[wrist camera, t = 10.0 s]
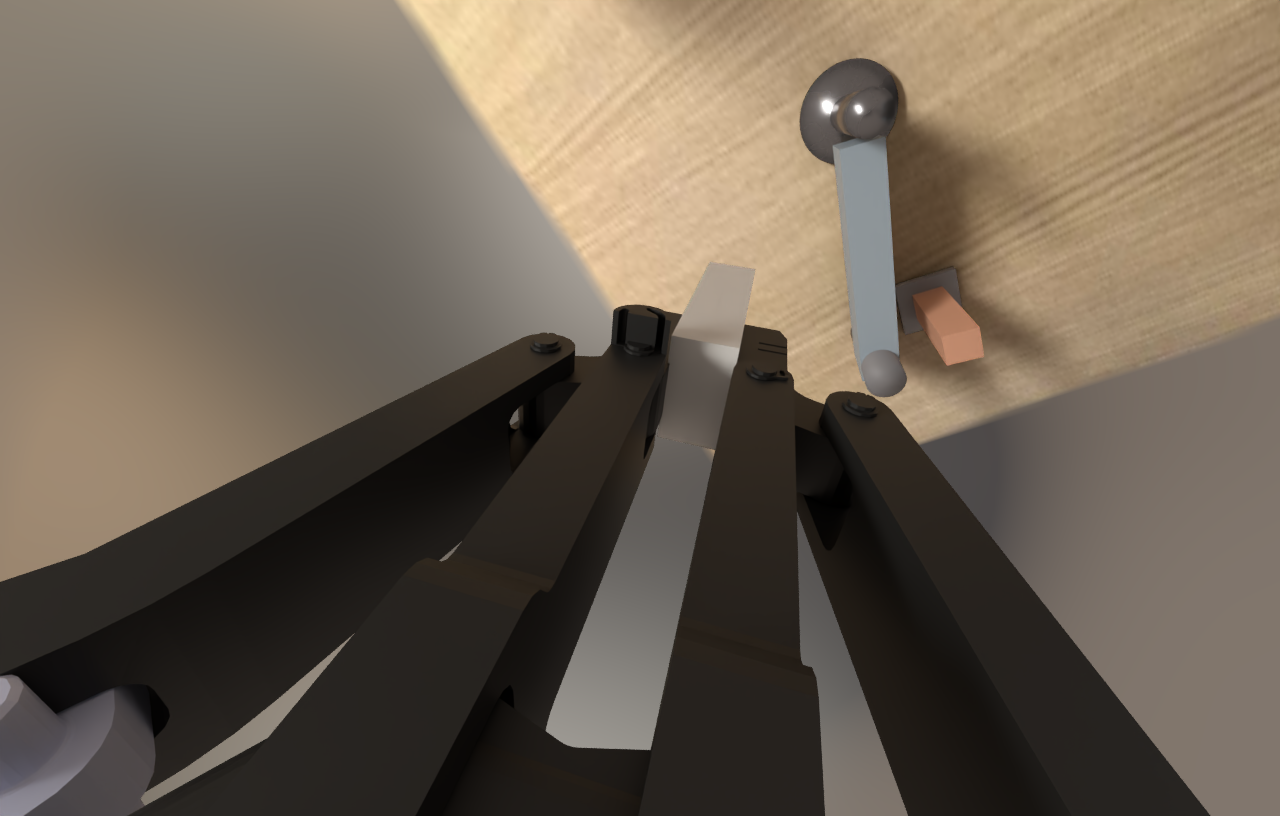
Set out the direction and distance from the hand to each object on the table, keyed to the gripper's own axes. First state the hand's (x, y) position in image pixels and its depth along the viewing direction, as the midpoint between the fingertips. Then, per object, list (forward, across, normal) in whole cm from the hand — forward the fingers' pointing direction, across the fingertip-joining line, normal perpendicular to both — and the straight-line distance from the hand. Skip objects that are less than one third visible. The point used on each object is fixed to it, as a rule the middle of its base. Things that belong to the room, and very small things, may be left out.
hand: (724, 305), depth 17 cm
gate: (+24, +8, -2) cm, 26 cm away
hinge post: (+24, +5, +6) cm, 26 cm away
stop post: (+24, +14, -5) cm, 29 cm away
